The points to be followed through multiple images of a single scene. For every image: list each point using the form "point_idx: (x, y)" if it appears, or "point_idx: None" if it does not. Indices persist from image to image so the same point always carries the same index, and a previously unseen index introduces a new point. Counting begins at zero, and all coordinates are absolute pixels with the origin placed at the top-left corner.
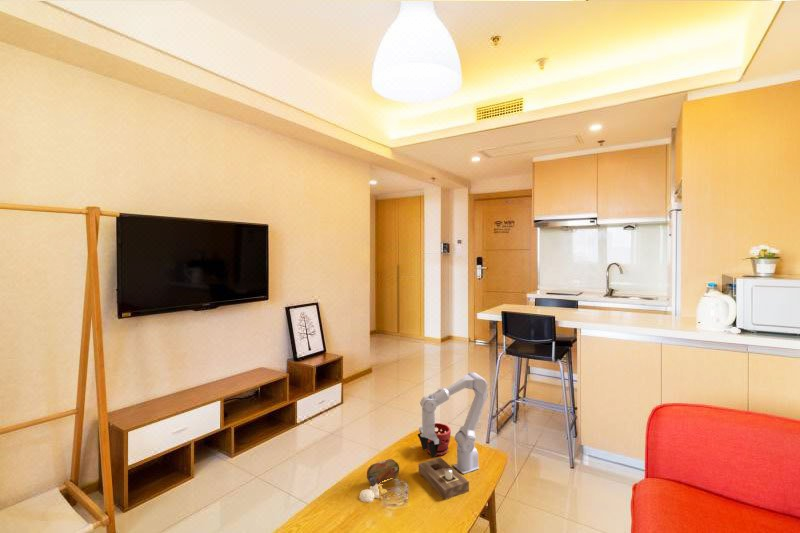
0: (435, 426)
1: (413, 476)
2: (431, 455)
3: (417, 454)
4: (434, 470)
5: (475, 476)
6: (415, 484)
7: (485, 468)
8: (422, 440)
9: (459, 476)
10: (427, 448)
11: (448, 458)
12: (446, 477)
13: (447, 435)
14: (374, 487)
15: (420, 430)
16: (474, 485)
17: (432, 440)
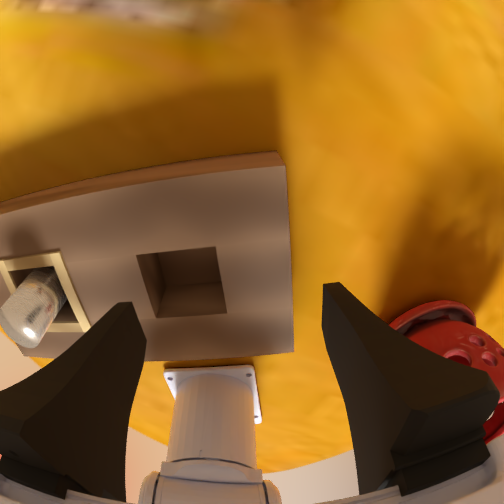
0: (494, 421)
1: (243, 94)
2: (102, 316)
3: (459, 239)
4: (137, 252)
5: (139, 392)
6: (141, 76)
7: None
8: (368, 375)
9: (60, 347)
10: (453, 310)
11: (328, 366)
12: (20, 285)
13: None
14: None
15: (484, 493)
16: None
17: (58, 497)
